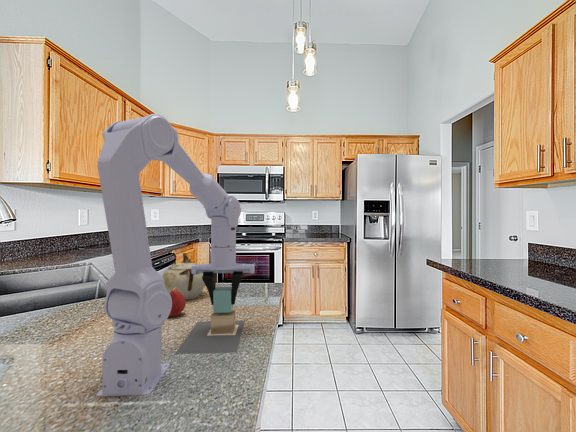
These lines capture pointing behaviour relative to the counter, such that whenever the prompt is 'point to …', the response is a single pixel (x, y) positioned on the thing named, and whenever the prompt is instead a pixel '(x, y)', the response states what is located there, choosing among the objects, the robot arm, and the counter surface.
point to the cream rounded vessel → (184, 279)
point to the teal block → (222, 300)
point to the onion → (177, 303)
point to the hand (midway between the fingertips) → (223, 303)
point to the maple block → (223, 323)
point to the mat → (211, 340)
